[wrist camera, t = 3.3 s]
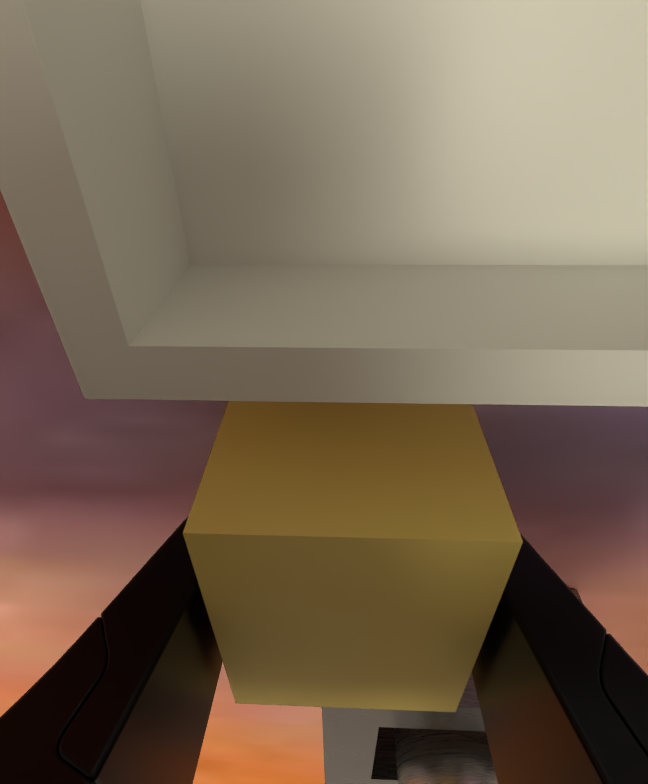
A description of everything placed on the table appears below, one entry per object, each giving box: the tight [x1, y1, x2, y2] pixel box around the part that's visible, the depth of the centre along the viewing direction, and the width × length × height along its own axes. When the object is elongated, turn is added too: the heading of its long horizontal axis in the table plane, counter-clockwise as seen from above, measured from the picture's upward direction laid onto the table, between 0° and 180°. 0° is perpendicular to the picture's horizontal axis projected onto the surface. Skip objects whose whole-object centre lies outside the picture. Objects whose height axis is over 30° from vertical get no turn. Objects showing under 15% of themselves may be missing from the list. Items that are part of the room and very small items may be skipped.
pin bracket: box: [322, 589, 582, 784], centre depth 14 cm, size 7×7×3 cm
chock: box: [183, 401, 523, 712], centre depth 8 cm, size 5×4×4 cm
